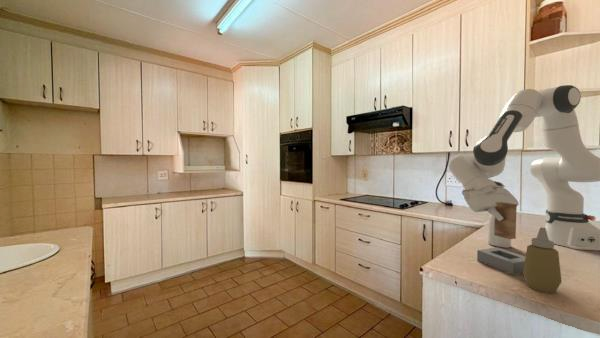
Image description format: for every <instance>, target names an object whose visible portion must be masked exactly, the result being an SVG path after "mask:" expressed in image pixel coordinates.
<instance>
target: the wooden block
mask: <svg viewBox="0 0 600 338" xmlns="http://www.w3.org/2000/svg"><path fill="white" fill-rule="evenodd" d="M495 203H496V204H497V205H498V206H497V207H495V209H496V211H497V212H499V213H500V214H503V215H504V217H505V219H504V220H503V221H499V220H498V219H497V218H496V217H495V224H494V235H496V236H500V237H503V238H507V239H511V240H514V239H516V237H517V235H516V234H517V207H518V206H517V204H511V203H504V202H495Z"/></svg>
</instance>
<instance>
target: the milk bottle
mask: <svg viewBox="0 0 600 338" xmlns="http://www.w3.org/2000/svg"><path fill="white" fill-rule="evenodd" d="M494 224H495V217H494V216H493V215H491V214H490V213H489V217H488V235H487V236H488V244H489V245H490V246H493V247H495V248H496V247H497V248H501V249H503V248H504V249H505V248H507V249H509V248H510V247H511V246H512V239H507V238H503V237H500V236H496V235H494Z"/></svg>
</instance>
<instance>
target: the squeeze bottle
mask: <svg viewBox="0 0 600 338" xmlns="http://www.w3.org/2000/svg"><path fill="white" fill-rule="evenodd" d="M554 247H555V244H554V242H553V241H550V240H549V239H548V235H547V231H546V228H545V227H539V230H538V232H537V235H536V237H532V238H531V244H529V245H527V246H526V252H525V263H524V269H523V273H522V274H523V277H524V280H525V282H526V284H527V286H528V287H530V288H531V289H533V290H535V291H538V292H542V293H547V294H554V293H556V292H557V291H558V289H559V287H560V286H561V284H562V274H561V265H560V264H561V263H560V256H559V254H560V253H559V251H558V250H557V249H555V248H554Z"/></svg>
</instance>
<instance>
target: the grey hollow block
mask: <svg viewBox="0 0 600 338" xmlns="http://www.w3.org/2000/svg"><path fill="white" fill-rule="evenodd" d="M476 254H477V259H476V260H477V261H478V262H480V263H481V264H485V265H487V266H490V267H492V268H494V269H496V270H499V271H501V272H505V273H507V274H510V275H512V276H516V275H521V274H523V269H524V263H525V257H526V255H525V256H524V255H522V254H518V253H515V252H512V251H509V250H507V249H505V248H504V249H503V248H502V247H496V246H495V247H491V248H483V249H477V253H476Z"/></svg>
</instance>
